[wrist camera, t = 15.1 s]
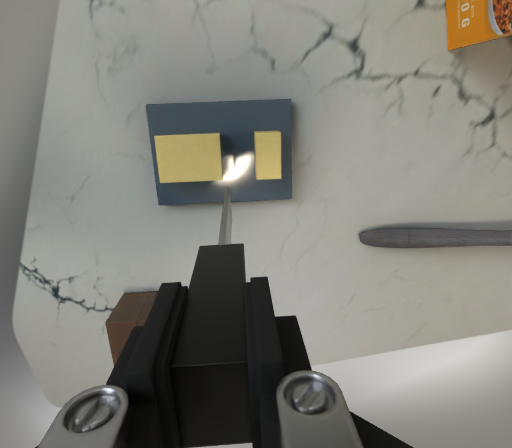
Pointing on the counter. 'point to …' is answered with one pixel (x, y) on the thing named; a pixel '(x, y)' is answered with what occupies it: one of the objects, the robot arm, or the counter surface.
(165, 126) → the butter dish
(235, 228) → the counter surface
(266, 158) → the butter slice
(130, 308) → the knife block
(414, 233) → the ladle
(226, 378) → the knife
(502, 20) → the cereal box
